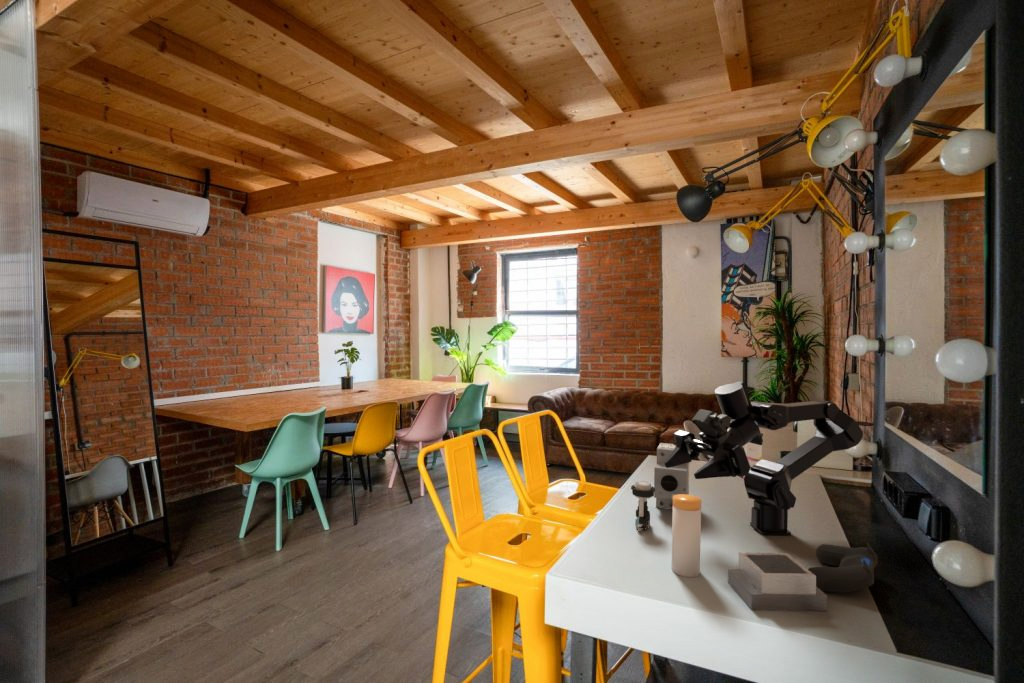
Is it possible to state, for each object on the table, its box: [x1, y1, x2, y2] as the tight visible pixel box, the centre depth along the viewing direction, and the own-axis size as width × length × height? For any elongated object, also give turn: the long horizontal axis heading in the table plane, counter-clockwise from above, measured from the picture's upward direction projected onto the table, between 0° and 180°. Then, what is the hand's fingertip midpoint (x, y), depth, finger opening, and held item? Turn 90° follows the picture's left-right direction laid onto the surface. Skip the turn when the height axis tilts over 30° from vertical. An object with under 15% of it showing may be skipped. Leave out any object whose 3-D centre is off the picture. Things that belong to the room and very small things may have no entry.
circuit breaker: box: [653, 442, 690, 510], centre depth 130 cm, size 8×14×15 cm, turn 158°
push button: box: [630, 480, 655, 532], centre depth 117 cm, size 7×5×10 cm
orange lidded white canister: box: [671, 494, 702, 578], centre depth 95 cm, size 5×5×14 cm
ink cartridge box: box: [742, 443, 763, 479], centre depth 161 cm, size 9×5×15 cm, turn 5°
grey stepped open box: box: [727, 552, 828, 612], centre depth 86 cm, size 12×9×6 cm
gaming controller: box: [807, 542, 878, 593], centre depth 92 cm, size 17×6×10 cm
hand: (679, 471), depth 107 cm, fingers open, 9 cm apart
